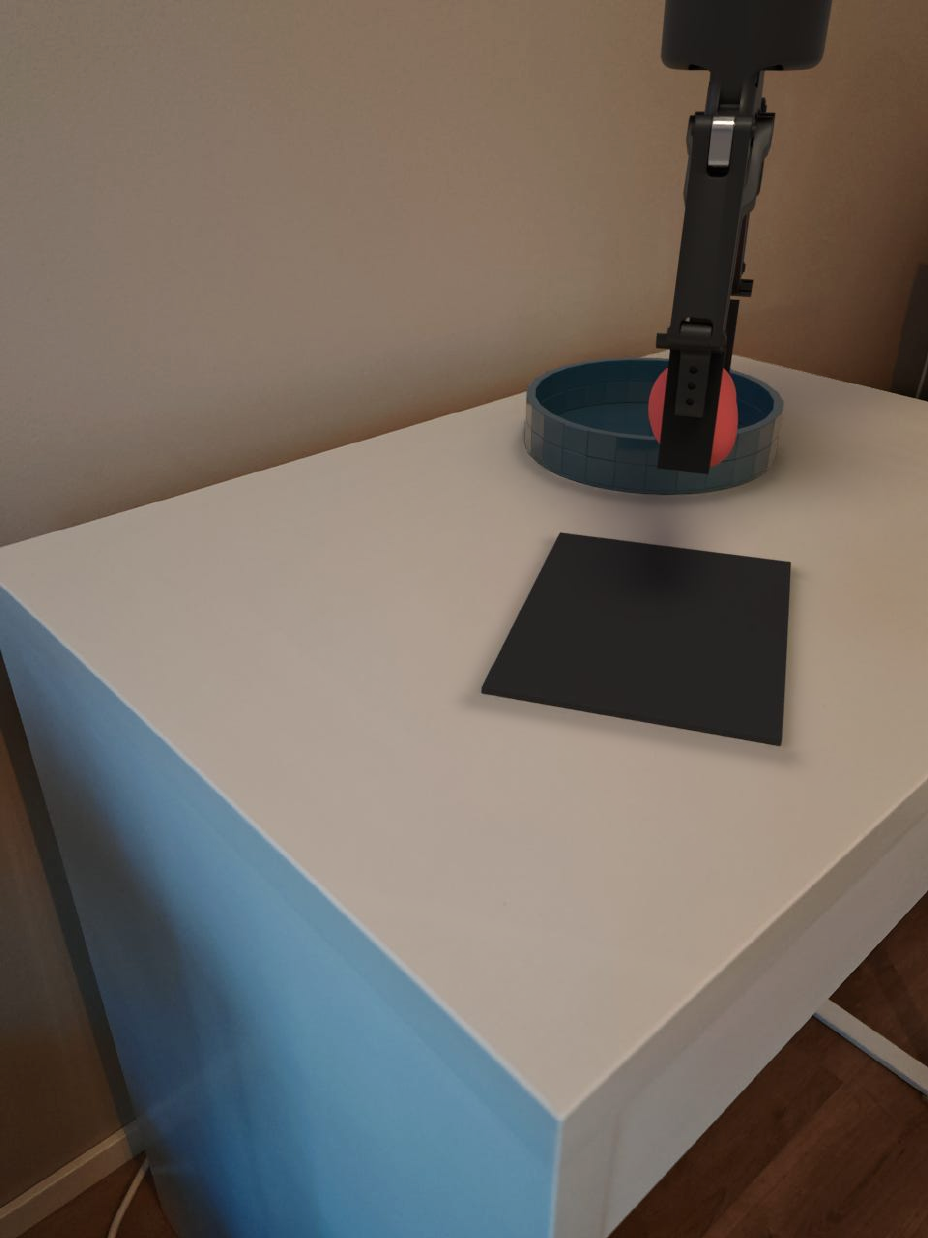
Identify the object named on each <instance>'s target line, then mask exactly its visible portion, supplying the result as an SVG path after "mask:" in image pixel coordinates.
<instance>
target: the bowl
mask: <svg viewBox="0 0 928 1238" xmlns="http://www.w3.org/2000/svg"><path fill="white" fill-rule="evenodd" d="M668 361H669V358H664V357H637V356H636V357H635V356H634V357H628V356H626V357H610V358H609V357H607V358H598V359H591V360H583V361H579V362H575V363H570V364H565V365H560V366H559V367H556V368H552V369H550V370H547V371H545V372H544V373H541V374H540V375H538V376H537V377H535V378H534V379H533V380H531V382H530V384H529V385H528V386H527V387H526V395H525V430H524V443H525V447H526V451H527V452H528V454H529V456H531V457H532V459H533V460H534V461H535V462H537V463H538V464H539V465H541V466H542V467H543V468H545V469H547V470H549V471H551V472H552V473H554V474H557V475H559V476H562V477H564V478H566V479H569V480H571V481H574V482H577V483H580V484H585V485H587V486H588V485H589V486H593V487H597V488H601V489H606V490H612V491H618V492H625V493H637V494H644V495H645V494H646V495H647V494H648V495H687V494H689V495H690V494H701V493H707V492H714V491H715V492H716V491H720V490H725V489H730V488H733V487H736V486H739V485H744V484H745V483H748V482H750V481H753V480H755V479H756V478H758V477H760V476H762V475H763V474H765V473H766V472H767V471H768V470H769V469H770V468H771V466H772V465H773V464H774V462H775V459H776V454H777V449H778V443H779V437H780V431H781V426H782V419H783V414H784V404H785V401H784V399H783V398H782V396H781V395H780V393H779V391H778V390H776V389H775V388H773V387H772V386H771V385H770V384H769V383H767V382H765V381H763V380H761V379H759V378H756V377H755V376H752V375H751V374H750V375H749V374H748V373H744V372H741V371H737V370H735V369H732V368H730V374H729V375H730V377H731V378H732V380H733V383H734V386H735V390H736V403H737V410H738V426H737V434H736V439H735V443H734V446H733V448H732V450H731V451H730V453H729V455H728V456H727V457H726V458H725V459H724V460H723V461H722V462H720V463H719V464H717V465H715V466H712V467H710V470H709V474H701V473H692V472H683V471H674V470H665V469H657V466H658V456H659V447H660V444H659V442H658V441H657V439H656V437H655V436H654V434H653V431H652V428H651V424H650V421H649V414H648V405H649V397H650V394H651V390H652V388H653V386H654V384H655V382H656V380H657V379H658V377H659V376H660V375H661V374H662V373H663V372H664V371H665V370H666V369H667V368H668Z"/></svg>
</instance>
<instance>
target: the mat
mask: <svg viewBox="0 0 928 1238" xmlns="http://www.w3.org/2000/svg"><path fill="white" fill-rule="evenodd" d="M791 569H792V562H791V561H786V560H779V559H771V558H763V557H755V556H749V555H748V556H746V555H740V554H733V553H723V552H715V551H709V550H708V551H707V550H700V549H693V548H685V547H678V546H677V547H676V546H669V545H662V544H655V543H646V542H641V541H640V542H638V541H631V540H623V539H615V538H610V537H609V538H608V537H600V536H593V535H586V534H585V535H583V534H577V533H570V532H561V531H560V532H559V533H558V535H557V537H556V539H555V541H554V543H553V544H552V546H551V549H550V550H549V553H548V555H547V557H546V559H545V561H544V563H543V565H542V567H541V568H540V571H539V573H538V574H537V577H536V579H535V581H534V583H533V585H532V587H531V588H530V591H529V592H528V594H527V597H526V598H525V601H524V603H523V604H522V606H521V609H520V610H519V612H518V614H517V616H516V618H515V620H514V622H513V624H512V626H511V628H510V630H509V632H508V634H507V636H506V637H505V640H504V642H503V644H502V646H501V648H500V650H499V652H498V654H497V656H496V658H495V660H494V661H493V664H492V666H491V667H490V669H489V672H488V674H487V676H486V678H485V680H484V682H483V683H482V685H481V694H487V695H493V696H498V697H503V698H509V699H515V700H520V701H526V702H532V703H538V704H544V705H549V706H554V707H559V708H565V709H571V710H572V709H573V710H577V711H583V712H587V713H593V714H600V715H606V716H610V717H611V716H612V717H615V718H617V717H618V718H623V719H629V720H633V721H639V722H645V723H651V724H656V725H662V726H667V727H673V728H679V729H683V730H684V729H685V730H689V731H697V732H701V733H702V732H703V733H708V734H713V735H719V736H724V737H730V738H735V739H742V740H747V741H752V742H757V743H764V744H769V745H774V746H775V745H776V746H782V743H783V734H784V733H783V732H784V731H783V730H784V711H785V710H784V709H785V692H786V691H785V690H786V670H787V650H788V631H789V614H790V613H789V610H790V590H791V573H792V571H791Z"/></svg>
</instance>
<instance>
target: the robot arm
mask: <svg viewBox="0 0 928 1238" xmlns="http://www.w3.org/2000/svg"><path fill="white" fill-rule="evenodd" d="M832 6H833V0H665V2H664V13H663V24H662V36H661V49H660V59H661V62H662V64H663V65H664V66H665V68H668V69H670V70H677V71H678V70H679V71H708V72H709V81H708V86H707V91H706V99H705V104H704V110H702V111H700V110H699V111H698V110H695V112H694V114H690V115H689V118H688V123H687V129H686V137H685V143H686V154H687V156H688V157H687V158H688V159H687V164H686V165H687V166H686V172H685V178H684V186H683V192H682V193H683V194H682V196H683V204H684V213H683V222H682V230H681V239H680V246H679V254H678V262H677V268H676V269H677V270H676V277H675V285H674V292H673V298H672V299H673V300H672V308H671V315H670V324H669V326H668V327H667V329H666V333H665V332H656V338H655V349H657V350H658V349H660V350H669V352H668V359H669V361H668V371H667V380H666V390H665V399H664V409H663V418H662V428H661V437H660V447H659V456H658V466H657V469H665V470H674V471H683V472H692V473H701V474H709V470H710V464H711V457H712V449H713V442H714V434H715V427H716V420H717V412H718V405H719V398H720V390H721V383H722V376H723V368H724V369H725V370H726V371H727V372H728V374H730V369H731V366H732V359H733V351H734V344H735V338H736V332H737V331H736V329H737V323H738V317H739V309H740V302H741V299H736V298H735V299H733V298H731V297H741V298H752V293H753V289H754V281H755V280H754V278H742V277H743V275H744V273H746V267H747V263H746V262H745V256H746V249H747V241H748V234H749V226H750V217H751V213H752V212H753V210H754V209H755V207H756V203H757V198H758V196H759V195H760V192H761V187H762V181H763V176H764V168H765V162H766V161H765V160H766V158H767V157H768V155H769V153H770V150H771V147H772V140H773V136H774V130H775V129H774V128H775V122H776V114H777V113H776V112H767V110H768V105H767V100H766V97H765V96H764V97H763V89H764V81H765V73H766V72H774V71H775V72H788V71H789V72H790V71H805V70H811V69H813V68H815V67H817V66H818V65H819V64H820V63H821V62H822V60H823V58H824V55H825V48H826V43H827V37H828V32H829V31H828V30H829V24H830V19H831V12H832ZM688 318H689V320H688Z"/></svg>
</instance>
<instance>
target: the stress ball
mask: <svg viewBox="0 0 928 1238" xmlns="http://www.w3.org/2000/svg"><path fill="white" fill-rule="evenodd" d="M667 371H668V368H667V369H666V370H665V371H664V372H663V373H662V374H661V375H660V376H659V377H658V379H657V380H656V382H655V384H654V386H653V388H652V390H651V394H650V397H649V405H648V414H649V421H650V424H651V428H652V431H653V434H654V436H655V437H656V439H657V441H658V442H659V444H660V437H661V428H662V418H663V409H664V399H665V390H666V380H667ZM737 426H738V410H737V403H736V390H735V386H734V383H733V380H732V378H731V377H730V375H729V374H728V372H727V371H726V370H725V369H724V368H723V376H722V383H721V390H720V398H719V405H718V412H717V420H716V427H715V434H714V442H713V449H712V457H711V464H710V467H712V466H715V465H717V464H719V463H720V462H722V461H723V460H724V459H725V458H726V457H727V456H728V455H729V453H730V451H731V450H732V448H733V446H734V443H735V439H736V434H737Z"/></svg>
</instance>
